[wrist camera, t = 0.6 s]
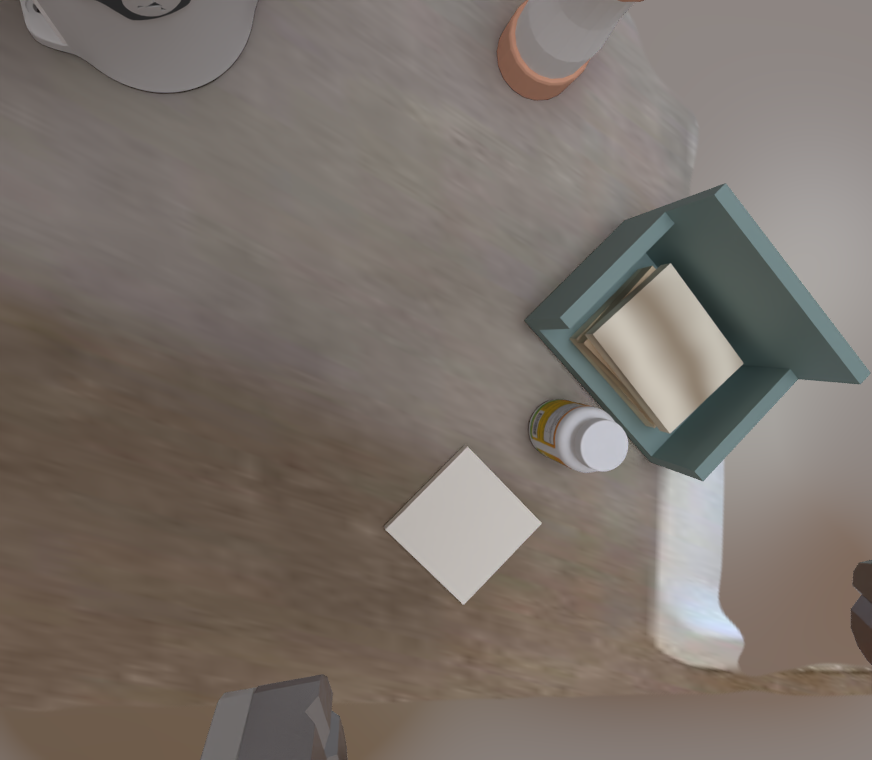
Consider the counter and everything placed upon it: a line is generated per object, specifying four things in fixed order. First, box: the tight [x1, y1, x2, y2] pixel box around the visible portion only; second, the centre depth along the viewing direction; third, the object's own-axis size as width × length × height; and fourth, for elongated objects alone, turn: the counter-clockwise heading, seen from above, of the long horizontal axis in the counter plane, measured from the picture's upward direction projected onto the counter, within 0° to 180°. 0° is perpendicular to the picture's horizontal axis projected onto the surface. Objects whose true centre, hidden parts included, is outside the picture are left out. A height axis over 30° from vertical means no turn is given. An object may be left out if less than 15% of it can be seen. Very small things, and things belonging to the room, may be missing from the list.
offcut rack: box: [524, 184, 870, 481], centre depth 51 cm, size 13×18×14 cm
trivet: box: [384, 445, 542, 605], centre depth 55 cm, size 10×10×1 cm
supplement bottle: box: [529, 399, 628, 473], centre depth 52 cm, size 5×5×10 cm
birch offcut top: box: [585, 263, 744, 434], centre depth 53 cm, size 9×11×2 cm
